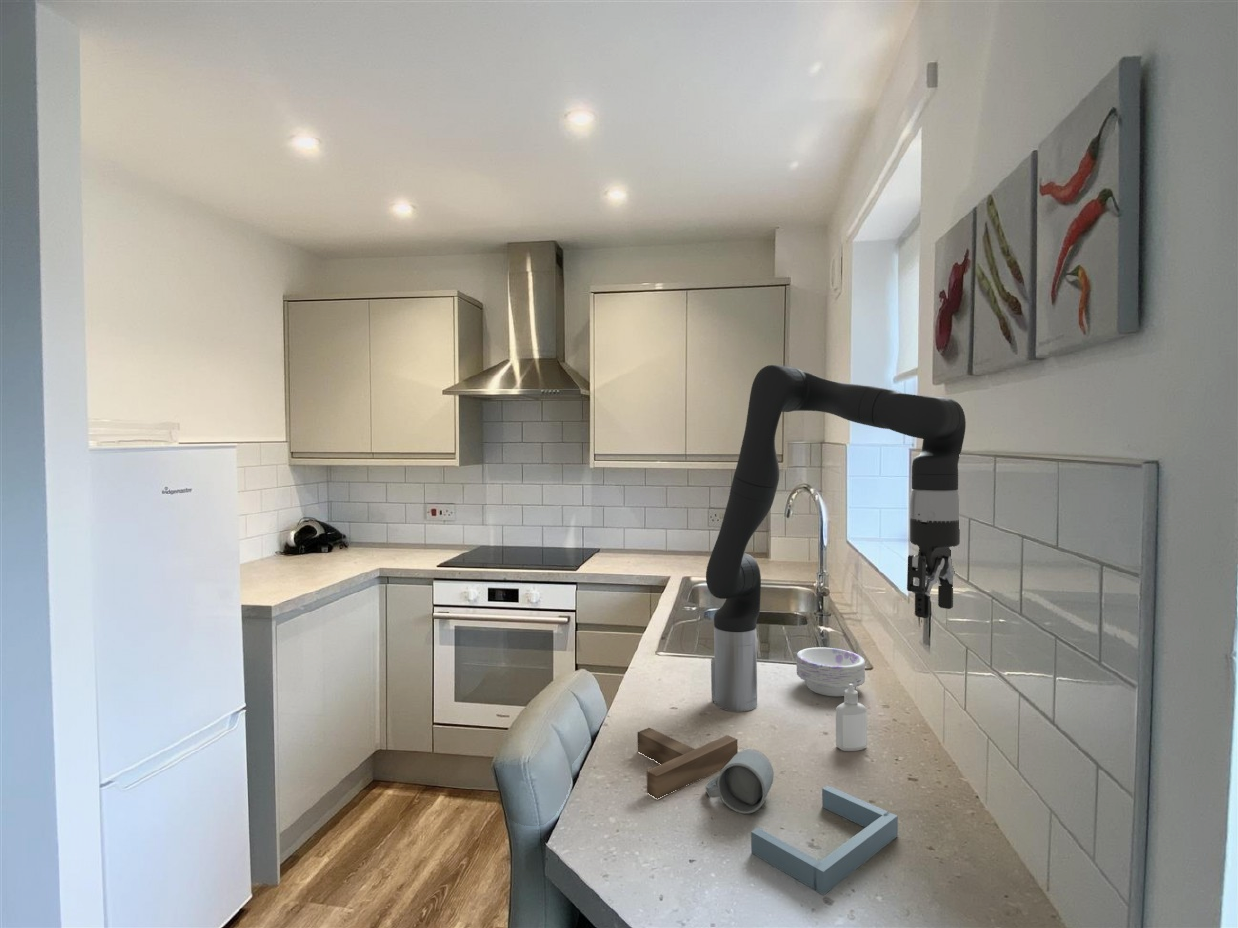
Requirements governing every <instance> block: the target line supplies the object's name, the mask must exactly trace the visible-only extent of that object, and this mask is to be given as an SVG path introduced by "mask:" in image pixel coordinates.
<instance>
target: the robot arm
mask: <svg viewBox="0 0 1238 928" xmlns="http://www.w3.org/2000/svg"><path fill="white" fill-rule="evenodd" d="M751 385H752V386H751V390H750V394H749V401H748V408H747V415H746V420H745V421H746V423H745V428H744V434H743V438H742V441H741V447H740V452H739V456H738V460H737V463H736V468H735V471H734V474H733V478H732V481H731V482H732V483H731V485H730V490H729V496H728V500H727V505H726V507H725V512H724V514H723V517H722V522H721V526H720V529H719V532H718V535H717V538H716V541H715V544H714V547H713V549H712V552H711V554H710V558H709V560H708V563H707V566H706V571H705V583H706V586H707V589H708V591H709V592H710V594H711V595H712V596H713V597H715V598H717V599H722V600H724V603H723V604H722V606H721V607H719V608H718V609H717V611H716V612H715V613H714V615H713V634H714V635H713V639H714V640H713V641H714V642H713V643H714V645H713V646H714V651H713V653H714V655H713V656H714V657H713V658H712V659H710V674H711V675H710V677H711V680H710V681H711V686H710V687H711V702H713V701H714V702H713V703H714V704H715V706H716V707H718V708H720V709H722V710H725V711H729V712H748V711H751V710H754V709H755V708H757V706H758V660H757V659H758V658H757V657H758V656H757V655H758V652H757V650H758V649H757V648H758V647H757V646H758V645H757V644H758V643H757V622H758V618H759V615H760V611H761V596H762V595H761V592H762V591H761V590H762V589H761V588H762V578H761V570H760V567H759V563H758V562H757V560H756V559H755V558H754V557H753V556H752V555H750V554H748V553H746V549H747V546H748V543H749V541H750V540H751V538H752V536H753V535H754V533H755V532H756V530H757V529H758V528H759V526H761V524H762V523H763V521H764V520H765V518H766V517H767V515H768V514H769V512H770V510H771V508H772V505H773V504H774V500H775V496H776V492H777V489H778V487H779V486H778V485H779V481H780V467H779V460H778V456H777V451H776V434H777V433H776V432H777V431H778V430H777V428H778V425H779V421H780V417H781V415H782V413H790V412H799V411H800V412H803V411H804V412H805V411H806V412H807V411H809V412H821V413H826V414H831V415H834V416H836V417H840V418H842V419H843V420H847V421H848V422H853V423H857V424H860V425H863V426H869V427H873V428H879V429H884V430H891V431H893V432H895V433H899V434H902V435H905V436H908V437H913V438H917V439H921V440H922V444H921V445H922V446H921V452H920V453H919V454H918V455H916V456H915V457H914V458H913V460H912V464H911V492H910V493H911V494H910V499H909V500H910V501H909V541H910V544H912V545H914V546H918V551H917V555H916V554H909V555H908V556H907V575H906V576H907V580H906V581H907V582H906V590H907V592H912V593H913V594H914V614H915V616H916V617H918V618H922V619H928V618H930V617H931V591H932V589H933V586H934V585H937V584H938V586H937V587H938V588H937V589H938V591H937V594H938V595H937V606H938V607H939V608H941V609H946V610H951V609H953V607H954V587H953V576H954V574H955V571H954V568H953V566H952V559H951V549H950V547H958V546H959V545H960V542H961V540H960V539H961V538H960V536H961V530H960V529H961V528H960V529H959V501H960V496H959V461H960V457H959V454H960V453H962V449H963V445H964V439H965V436H966V435H965V434H966V433H965V432H966V428H967V426H966V425H967V424H966V423H967V421H966V416H965V411H964V409H963V407H962V406H961V404H960V403H959V402H958V401H956V400H954V399H952V398H949V397H939V396H927V395H926V396H925V395H918V394H912V393H903V392H901V391H898V390H895V389H891V388H885V387H879V386H875V385H873V386H872V385H865V384H859V383H858V384H856V383H848V382H839V381H835V380H831V379H830V380H829V379H826V378H822V377H819V376H817V375H815V374H812V373H810V372H807V371H805V370H801V369H799V368H797V367H793V366H787V365H776V364H775V365H773V364H771V365H765V366H764V367H762V368H761V369H760V370H759V371H758V372H757V373H756V375H755V377H754V379H753V381H752V384H751ZM960 455H961V454H960ZM952 587H953V588H952Z"/></svg>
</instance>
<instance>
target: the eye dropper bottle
mask: <svg viewBox="0 0 1238 928" xmlns="http://www.w3.org/2000/svg"><path fill="white" fill-rule="evenodd" d="M858 694H859V692H858V691H857V690H856V689H854V687H853V684H849V687H848V689H847V690H845V691H844V696H843V697H844V698H843V701H844V702H842V703H840V704H839V705H837V707H836V708H835V746H836V747H837V748H838V749H839V750H841V751H842V752H857V751H862V750H865V749H866V748H867V747H868V718H867V717H868V715H867V713H868V712H867V708H866V707H865V705H863V704H862V703H861V702H859V695H858Z"/></svg>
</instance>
